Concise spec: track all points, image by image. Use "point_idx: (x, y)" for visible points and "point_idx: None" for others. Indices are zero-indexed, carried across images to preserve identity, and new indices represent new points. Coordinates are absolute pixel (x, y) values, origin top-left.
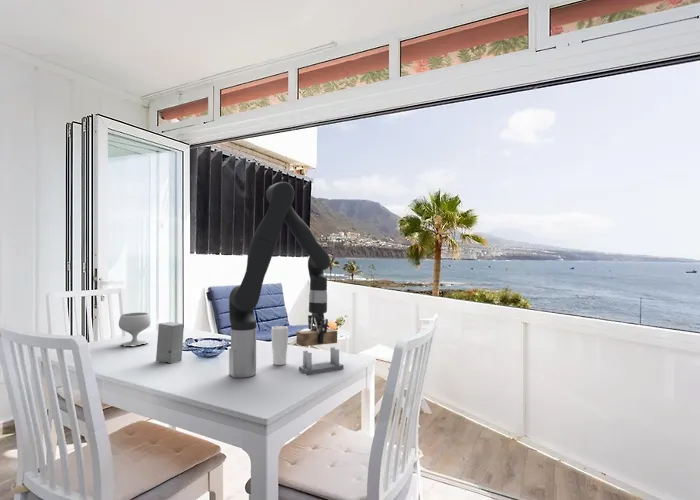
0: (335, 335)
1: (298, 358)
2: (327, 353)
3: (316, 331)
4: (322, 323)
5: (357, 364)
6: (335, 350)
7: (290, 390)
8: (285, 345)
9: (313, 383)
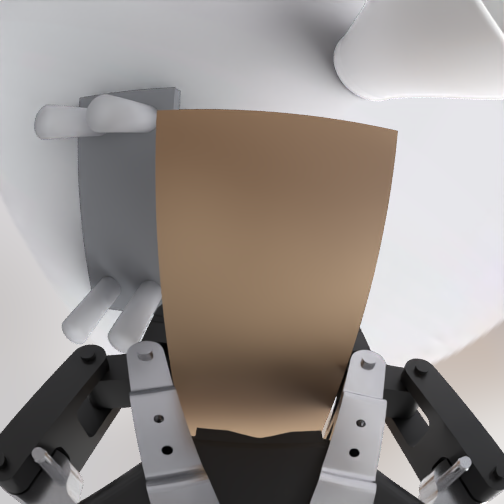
0: None
1: (405, 212)
2: None
3: (245, 376)
4: (6, 431)
5: None
6: (67, 317)
7: (3, 16)
8: (371, 44)
9: (4, 98)
